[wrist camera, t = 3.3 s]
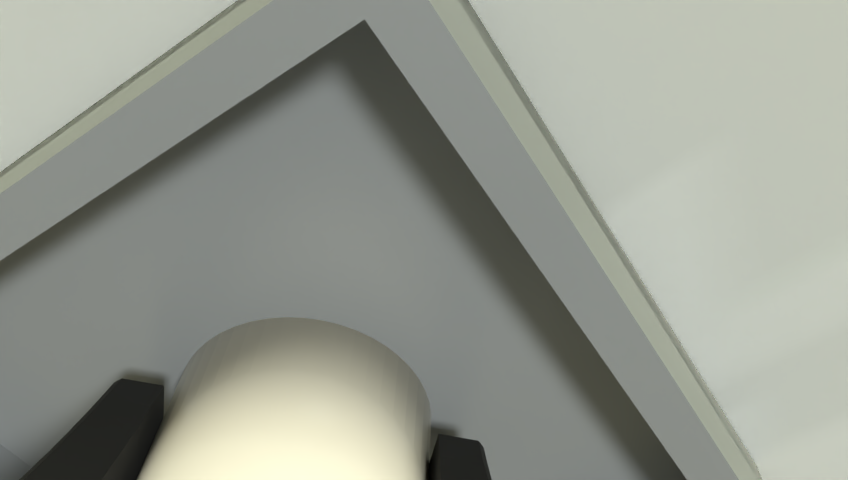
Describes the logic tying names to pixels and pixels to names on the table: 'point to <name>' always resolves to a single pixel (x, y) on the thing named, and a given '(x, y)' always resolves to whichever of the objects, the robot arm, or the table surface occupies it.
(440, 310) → the tray
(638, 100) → the table surface
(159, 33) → the table surface
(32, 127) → the table surface
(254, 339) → the cream round lump
